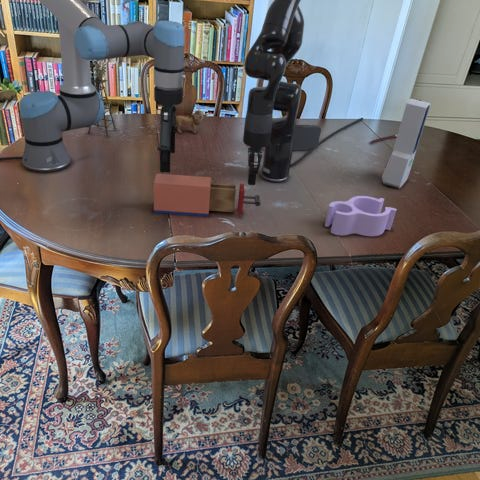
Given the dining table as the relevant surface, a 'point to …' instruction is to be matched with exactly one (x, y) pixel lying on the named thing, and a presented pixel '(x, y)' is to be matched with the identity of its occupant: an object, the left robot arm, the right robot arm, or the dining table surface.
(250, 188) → the dining table surface
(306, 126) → the handheld gaming console
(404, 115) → the electronic device
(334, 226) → the clip
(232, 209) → the drawer
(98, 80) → the miniature windmill
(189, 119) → the lion figurine
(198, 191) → the cabinet
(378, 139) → the sword
